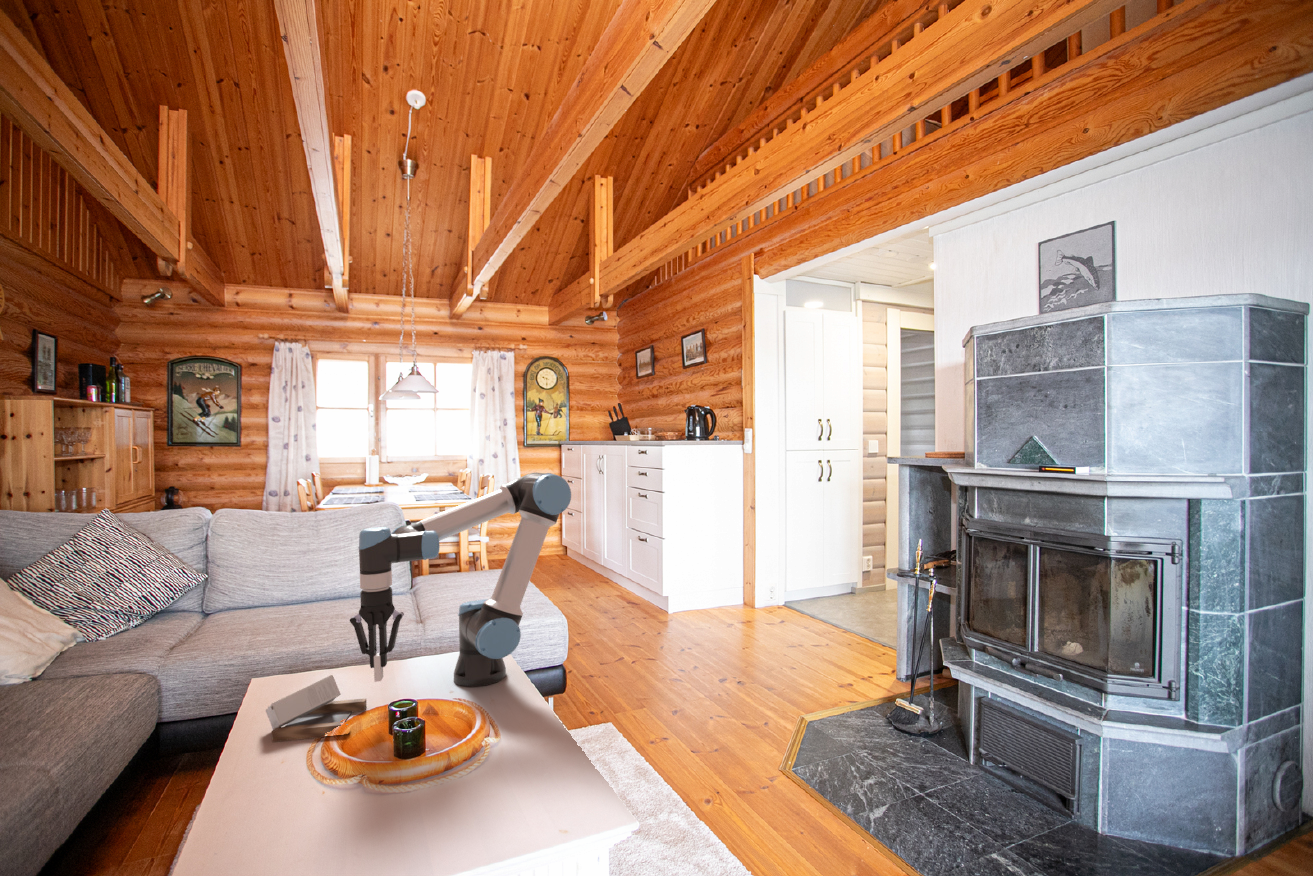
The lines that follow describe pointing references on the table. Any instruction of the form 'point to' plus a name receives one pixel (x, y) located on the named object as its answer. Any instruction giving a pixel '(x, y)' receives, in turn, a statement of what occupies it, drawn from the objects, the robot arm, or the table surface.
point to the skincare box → (302, 702)
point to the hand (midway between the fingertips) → (378, 679)
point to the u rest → (318, 720)
